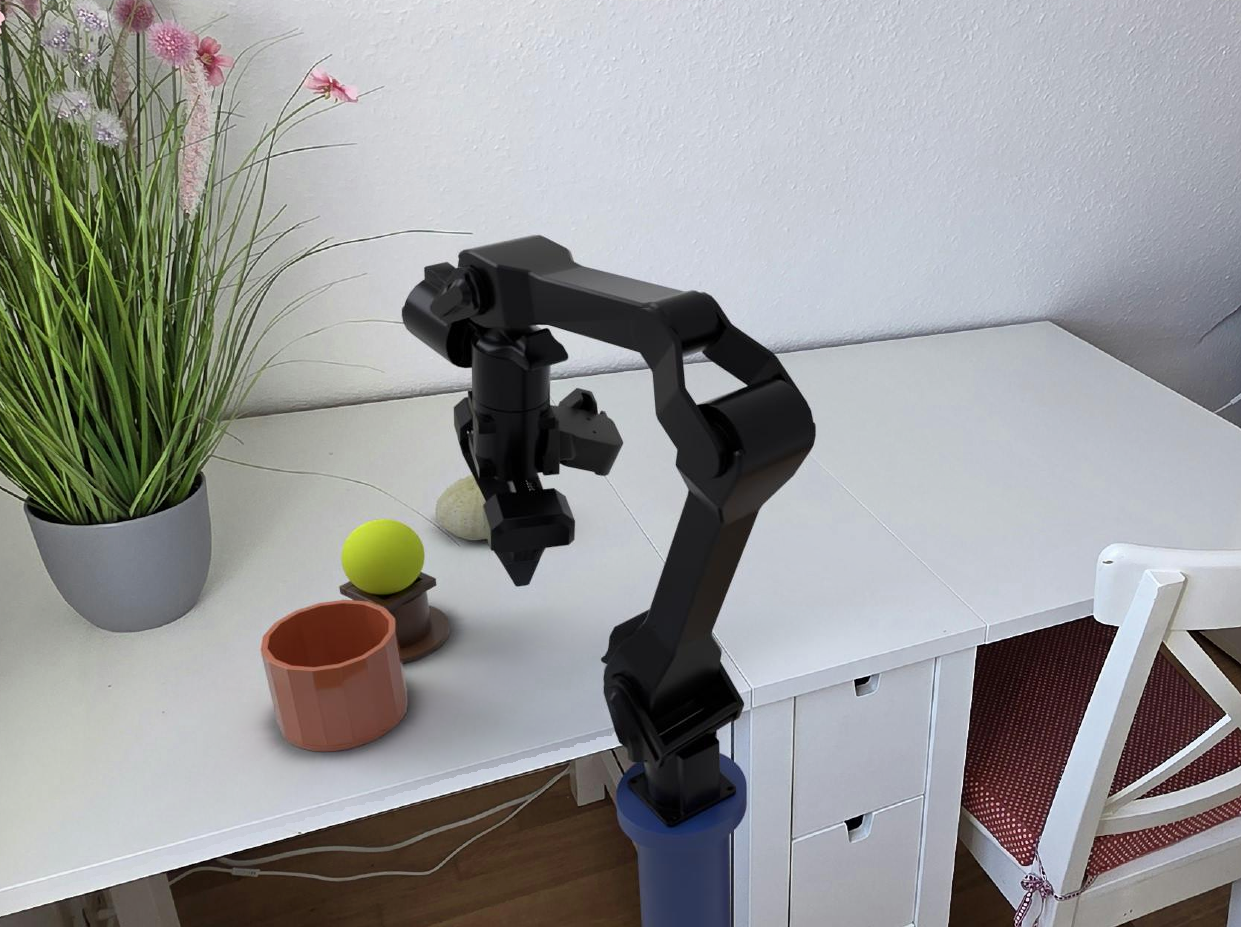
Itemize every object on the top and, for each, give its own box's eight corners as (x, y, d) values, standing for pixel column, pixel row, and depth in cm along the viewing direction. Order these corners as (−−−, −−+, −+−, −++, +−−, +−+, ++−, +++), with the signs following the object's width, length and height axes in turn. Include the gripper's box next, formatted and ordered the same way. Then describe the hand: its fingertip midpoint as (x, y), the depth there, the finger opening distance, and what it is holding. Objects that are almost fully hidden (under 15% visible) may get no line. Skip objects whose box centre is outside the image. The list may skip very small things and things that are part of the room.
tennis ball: (441, 592, 109) (432, 528, 105) (365, 618, 104) (353, 552, 101) (410, 560, 113) (400, 498, 109) (335, 584, 108) (323, 520, 105)
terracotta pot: (427, 719, 101) (414, 640, 98) (305, 768, 95) (286, 686, 91) (380, 663, 107) (367, 587, 103) (262, 707, 101) (243, 627, 97)
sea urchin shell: (455, 542, 122) (431, 468, 123) (444, 564, 128) (422, 494, 129) (545, 520, 127) (521, 449, 128) (531, 542, 133) (509, 474, 134)
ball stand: (471, 628, 113) (464, 575, 110) (390, 678, 106) (380, 622, 103) (402, 597, 116) (394, 545, 113) (319, 643, 109) (308, 589, 106)
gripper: (646, 449, 93) (635, 606, 101) (588, 330, 106) (582, 479, 114) (491, 463, 87) (493, 628, 96) (450, 336, 100) (455, 491, 109)
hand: (511, 550), depth 104 cm, fingers open, 9 cm apart
